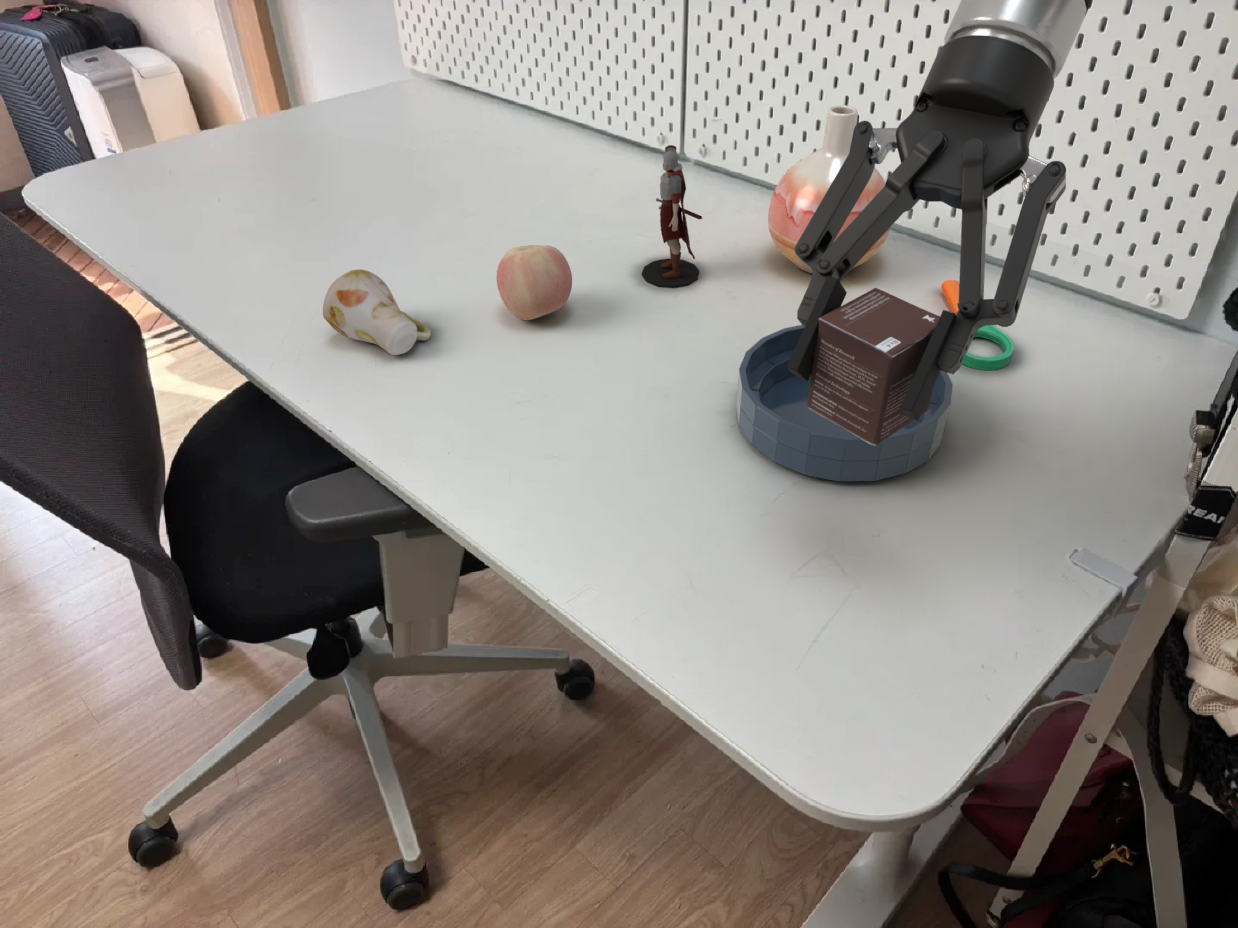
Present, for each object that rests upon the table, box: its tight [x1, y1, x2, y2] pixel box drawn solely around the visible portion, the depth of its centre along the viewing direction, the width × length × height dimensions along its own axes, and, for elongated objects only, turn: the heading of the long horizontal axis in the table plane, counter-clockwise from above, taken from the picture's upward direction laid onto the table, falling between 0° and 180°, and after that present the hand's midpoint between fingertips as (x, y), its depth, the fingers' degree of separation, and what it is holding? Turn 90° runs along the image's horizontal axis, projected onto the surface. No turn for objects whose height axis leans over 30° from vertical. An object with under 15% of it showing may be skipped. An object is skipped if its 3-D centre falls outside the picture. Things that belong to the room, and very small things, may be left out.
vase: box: [767, 104, 892, 275], centre depth 103 cm, size 14×14×18 cm
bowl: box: [735, 324, 954, 482], centre depth 84 cm, size 18×18×5 cm
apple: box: [496, 244, 573, 321], centre depth 98 cm, size 8×8×8 cm
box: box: [807, 287, 941, 446], centre depth 62 cm, size 6×6×7 cm
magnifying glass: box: [940, 279, 1015, 371], centre depth 96 cm, size 15×6×2 cm, turn 179°
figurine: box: [641, 144, 703, 289], centre depth 103 cm, size 7×7×15 cm
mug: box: [322, 269, 432, 356], centre depth 96 cm, size 8×10×10 cm
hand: (851, 393), depth 60 cm, fingers closed on box, 7 cm apart
